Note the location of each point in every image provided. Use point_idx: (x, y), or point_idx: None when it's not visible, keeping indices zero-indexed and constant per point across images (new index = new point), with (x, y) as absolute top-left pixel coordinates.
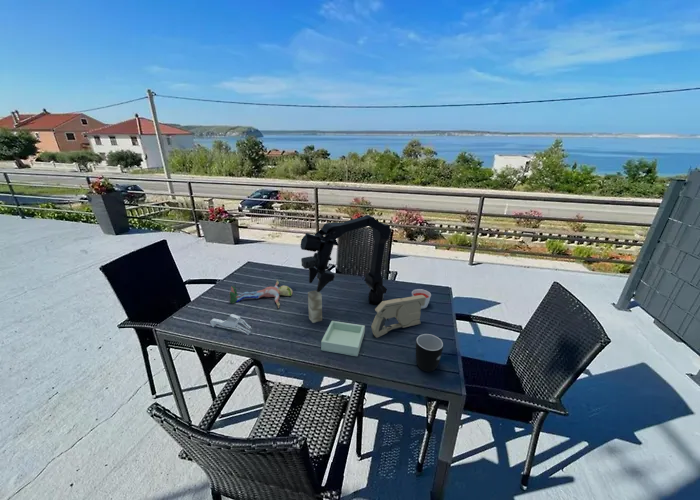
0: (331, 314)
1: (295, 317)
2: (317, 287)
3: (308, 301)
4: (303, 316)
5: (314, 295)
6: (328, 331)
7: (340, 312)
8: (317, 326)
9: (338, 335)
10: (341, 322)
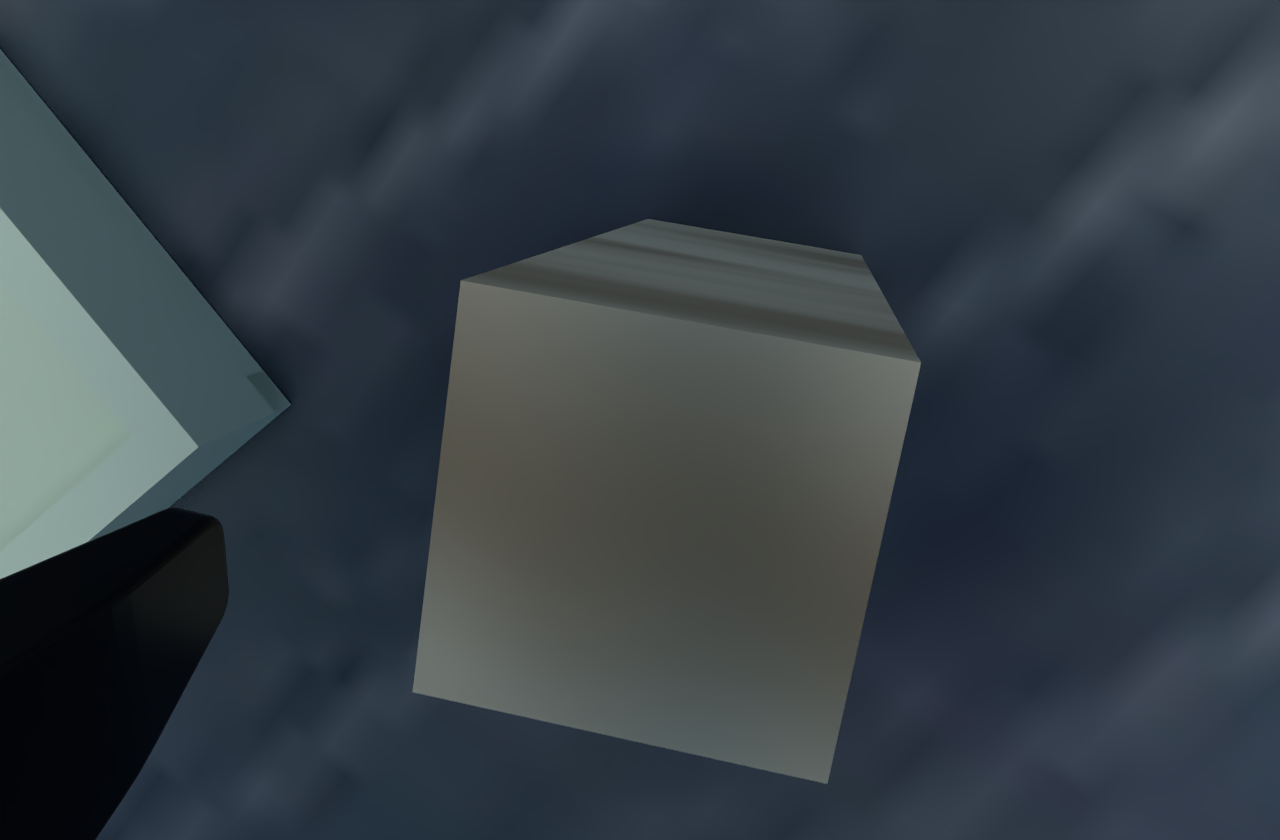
0: None
1: (1082, 22)
2: (17, 628)
3: (855, 299)
4: (992, 193)
5: (487, 424)
6: None
7: (631, 836)
8: (500, 235)
9: (16, 355)
10: (48, 554)
